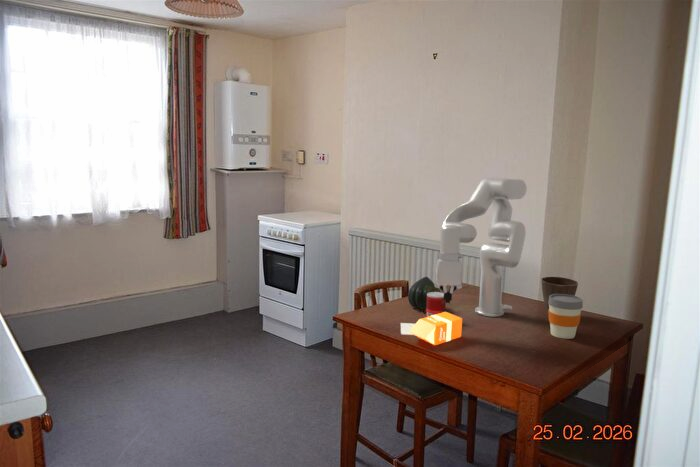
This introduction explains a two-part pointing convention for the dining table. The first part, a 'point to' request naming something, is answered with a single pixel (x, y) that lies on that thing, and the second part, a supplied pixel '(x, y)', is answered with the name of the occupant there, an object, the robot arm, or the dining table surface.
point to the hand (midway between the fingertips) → (447, 302)
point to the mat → (406, 328)
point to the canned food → (435, 303)
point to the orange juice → (438, 328)
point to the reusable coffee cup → (564, 315)
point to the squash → (421, 292)
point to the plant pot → (557, 288)
